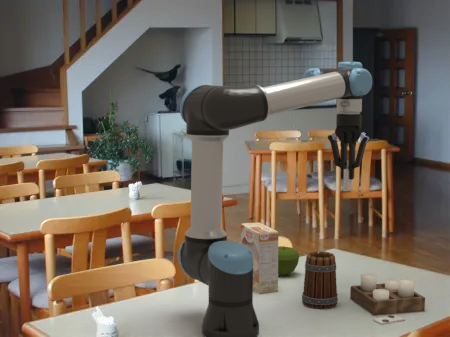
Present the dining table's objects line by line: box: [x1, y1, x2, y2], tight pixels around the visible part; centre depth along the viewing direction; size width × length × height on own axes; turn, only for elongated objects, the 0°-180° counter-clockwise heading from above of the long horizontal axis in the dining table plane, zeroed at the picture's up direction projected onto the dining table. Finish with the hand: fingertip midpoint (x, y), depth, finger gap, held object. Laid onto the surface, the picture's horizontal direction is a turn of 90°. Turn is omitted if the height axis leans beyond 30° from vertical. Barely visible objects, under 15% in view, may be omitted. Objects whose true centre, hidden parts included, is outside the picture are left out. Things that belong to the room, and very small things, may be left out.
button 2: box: [373, 289, 389, 301], centre depth 213 cm, size 5×5×5 cm
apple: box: [278, 245, 300, 277], centre depth 250 cm, size 11×10×10 cm
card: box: [371, 314, 406, 326], centre depth 205 cm, size 8×4×1 cm, turn 115°
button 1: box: [360, 273, 378, 292], centre depth 220 cm, size 5×5×5 cm
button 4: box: [397, 278, 415, 298], centre depth 215 cm, size 5×5×5 cm
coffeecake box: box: [240, 221, 280, 295], centre depth 235 cm, size 15×7×20 cm, turn 21°
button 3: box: [384, 278, 399, 290], centre depth 223 cm, size 5×5×5 cm
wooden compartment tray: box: [349, 282, 426, 317], centre depth 218 cm, size 16×16×4 cm
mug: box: [301, 248, 339, 310], centre depth 221 cm, size 16×11×15 cm
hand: (347, 189), depth 227 cm, fingers closed
